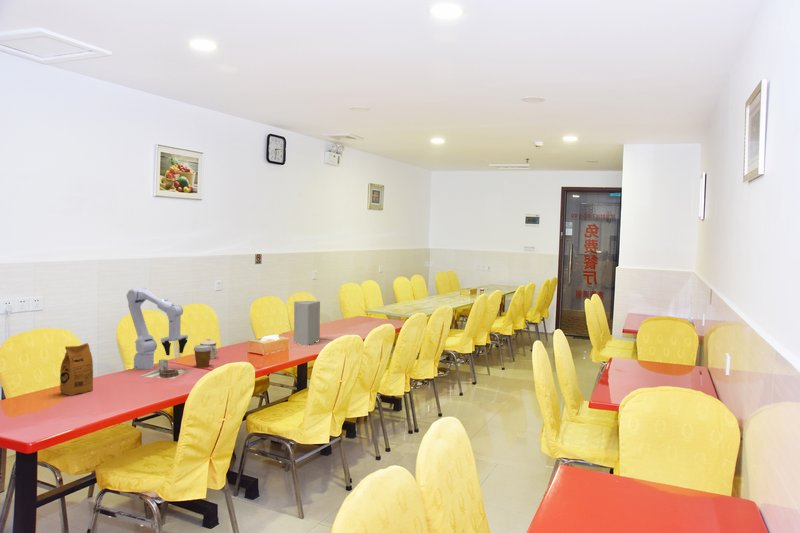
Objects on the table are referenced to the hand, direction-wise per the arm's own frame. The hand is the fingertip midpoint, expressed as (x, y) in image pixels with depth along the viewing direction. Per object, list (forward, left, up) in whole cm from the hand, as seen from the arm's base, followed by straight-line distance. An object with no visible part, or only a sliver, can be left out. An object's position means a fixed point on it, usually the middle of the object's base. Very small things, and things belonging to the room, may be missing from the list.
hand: (174, 354), depth 305 cm
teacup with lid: (+2, +38, -10) cm, 39 cm away
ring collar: (+2, -9, -10) cm, 14 cm away
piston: (-5, -2, -9) cm, 11 cm away
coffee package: (-25, -42, -10) cm, 50 cm away
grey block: (+42, +97, -10) cm, 106 cm away
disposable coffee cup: (+9, +14, -10) cm, 19 cm away
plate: (-2, -5, -10) cm, 12 cm away
